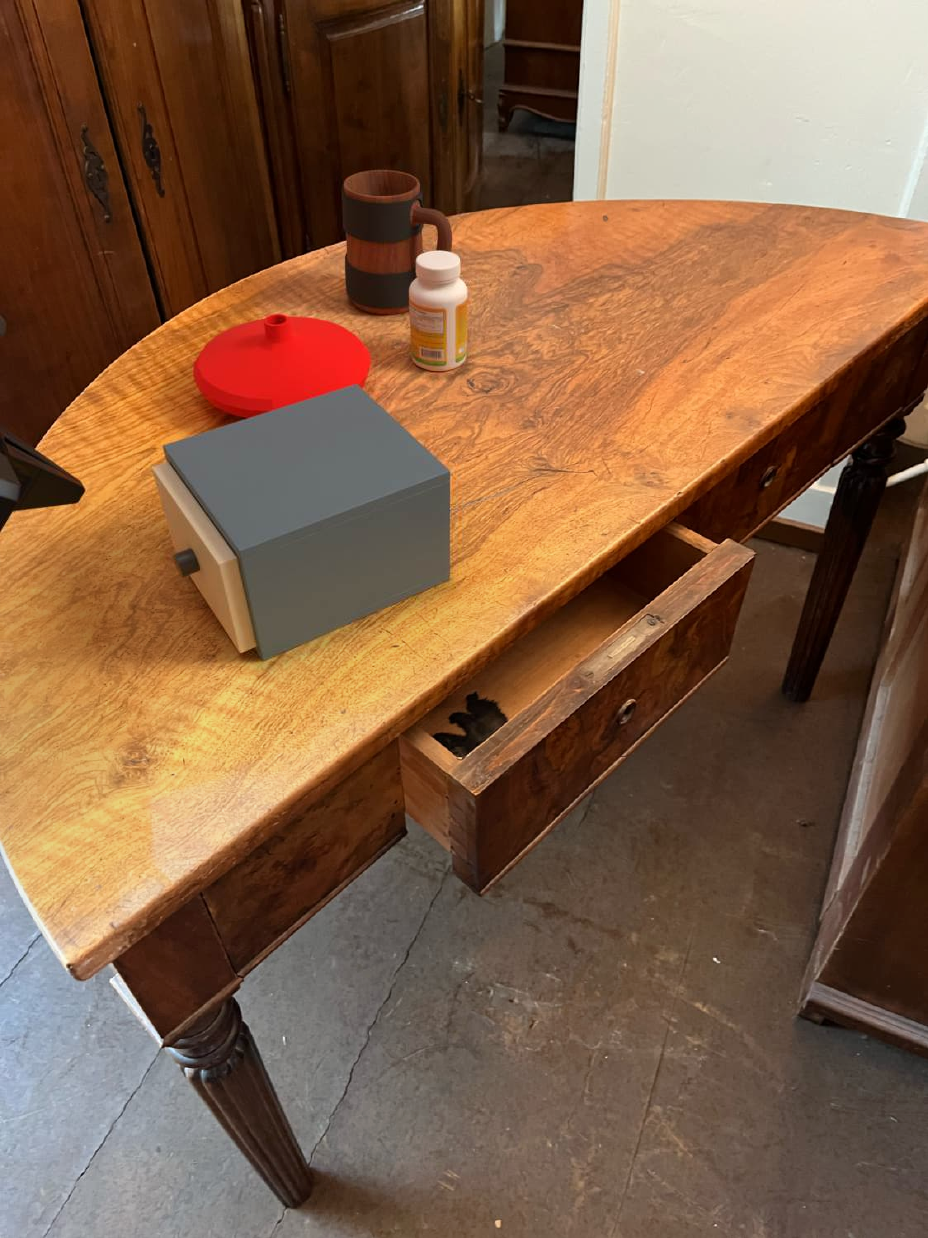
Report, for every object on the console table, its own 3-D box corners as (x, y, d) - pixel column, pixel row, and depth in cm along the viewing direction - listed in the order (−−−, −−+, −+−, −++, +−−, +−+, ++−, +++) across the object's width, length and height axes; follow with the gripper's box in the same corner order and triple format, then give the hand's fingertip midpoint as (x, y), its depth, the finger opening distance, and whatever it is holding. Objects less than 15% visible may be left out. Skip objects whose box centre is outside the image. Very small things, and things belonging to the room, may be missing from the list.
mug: (431, 332, 90) (429, 213, 81) (331, 305, 94) (319, 189, 85) (469, 297, 95) (472, 182, 87) (373, 273, 99) (367, 161, 91)
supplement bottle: (451, 340, 89) (452, 242, 82) (476, 365, 85) (478, 265, 78) (402, 351, 87) (398, 252, 80) (425, 377, 84) (422, 276, 77)
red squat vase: (273, 464, 74) (260, 388, 69) (164, 393, 81) (145, 320, 76) (408, 391, 82) (406, 318, 77) (298, 332, 89) (289, 263, 84)
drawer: (222, 661, 57) (198, 571, 52) (160, 561, 64) (132, 472, 58) (418, 577, 63) (415, 488, 57) (342, 494, 69) (333, 407, 64)
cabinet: (263, 661, 58) (238, 550, 51) (191, 554, 66) (162, 445, 59) (450, 579, 64) (450, 470, 57) (365, 489, 71) (356, 383, 65)
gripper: (-136, 299, 31) (220, 460, 43) (-199, 143, 42) (100, 307, 54) (-266, 550, 34) (105, 634, 46) (-294, 342, 44) (12, 455, 57)
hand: (80, 493), depth 51 cm, fingers closed
